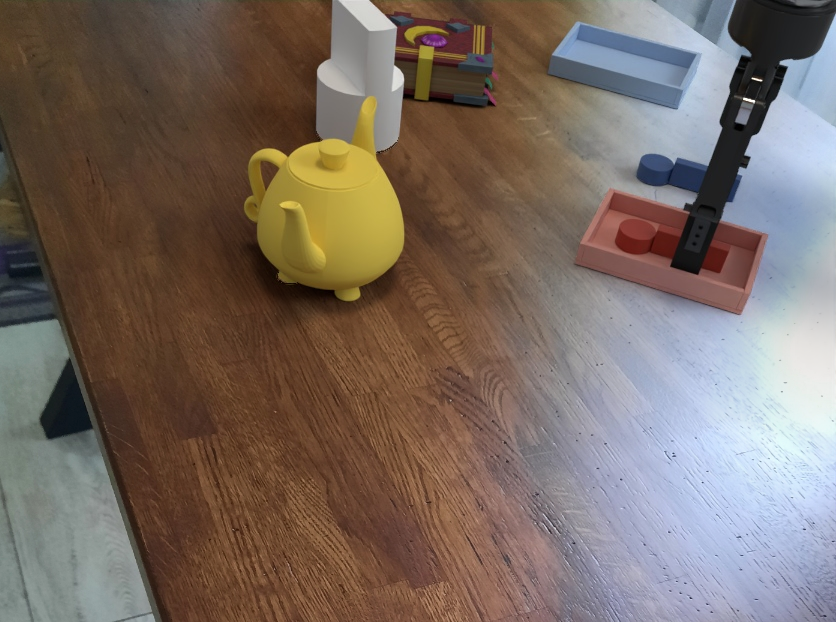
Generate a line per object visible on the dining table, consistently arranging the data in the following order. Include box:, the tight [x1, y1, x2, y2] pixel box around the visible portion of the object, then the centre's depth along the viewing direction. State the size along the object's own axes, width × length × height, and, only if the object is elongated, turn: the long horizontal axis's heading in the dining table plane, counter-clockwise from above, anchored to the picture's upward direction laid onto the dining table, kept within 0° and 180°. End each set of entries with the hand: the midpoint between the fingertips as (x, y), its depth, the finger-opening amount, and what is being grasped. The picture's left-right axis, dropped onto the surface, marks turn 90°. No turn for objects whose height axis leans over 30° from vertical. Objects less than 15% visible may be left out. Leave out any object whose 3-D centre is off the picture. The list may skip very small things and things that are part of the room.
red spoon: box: [615, 219, 731, 273], centre depth 89 cm, size 11×4×2 cm, turn 67°
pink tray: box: [574, 187, 769, 315], centre depth 90 cm, size 16×11×2 cm
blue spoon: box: [635, 153, 743, 203], centre depth 98 cm, size 11×4×2 cm, turn 67°
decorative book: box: [383, 10, 499, 107], centre depth 107 cm, size 11×16×5 cm
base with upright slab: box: [315, 0, 404, 152], centre depth 95 cm, size 9×9×12 cm
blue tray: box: [547, 20, 703, 110], centre depth 113 cm, size 16×11×2 cm
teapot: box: [243, 96, 405, 302], centre depth 81 cm, size 20×15×12 cm
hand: (691, 252), depth 89 cm, fingers open, 8 cm apart
